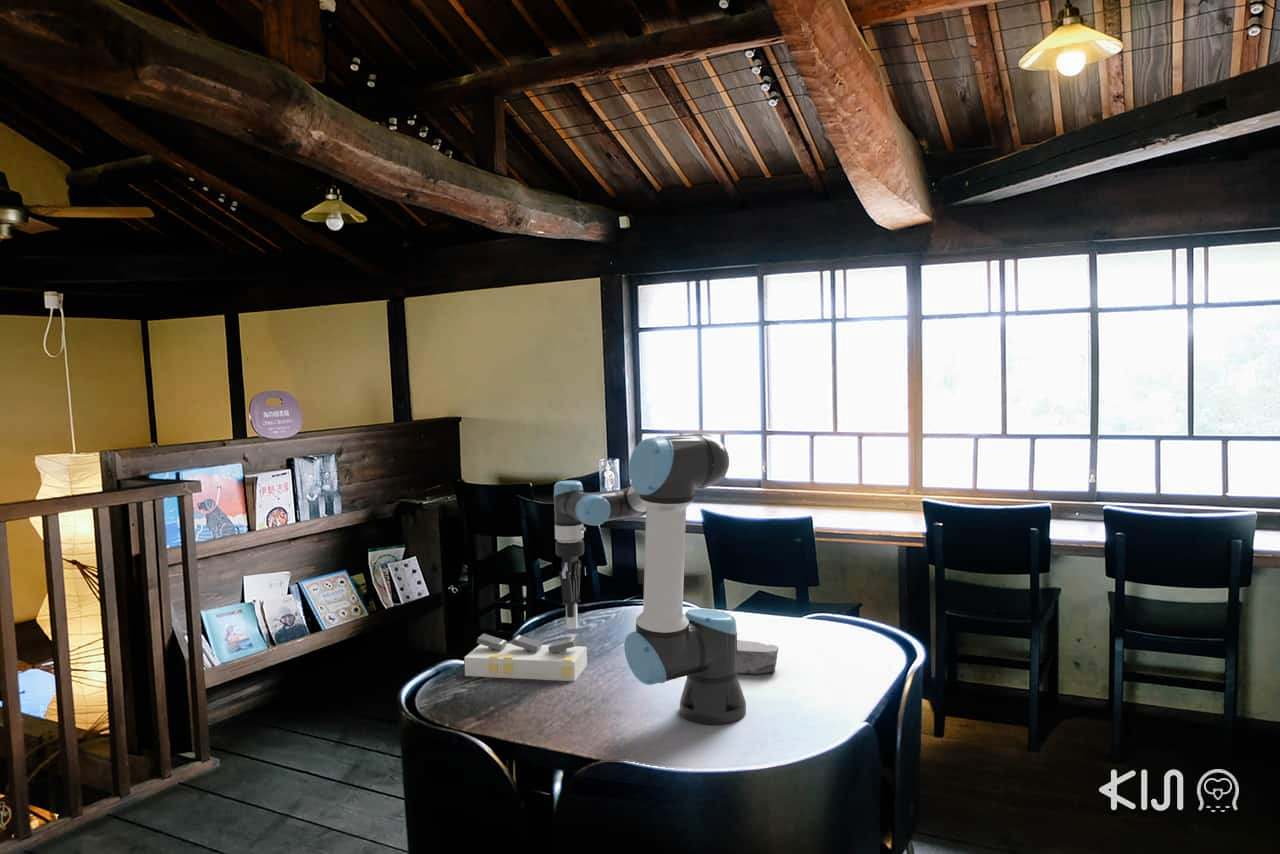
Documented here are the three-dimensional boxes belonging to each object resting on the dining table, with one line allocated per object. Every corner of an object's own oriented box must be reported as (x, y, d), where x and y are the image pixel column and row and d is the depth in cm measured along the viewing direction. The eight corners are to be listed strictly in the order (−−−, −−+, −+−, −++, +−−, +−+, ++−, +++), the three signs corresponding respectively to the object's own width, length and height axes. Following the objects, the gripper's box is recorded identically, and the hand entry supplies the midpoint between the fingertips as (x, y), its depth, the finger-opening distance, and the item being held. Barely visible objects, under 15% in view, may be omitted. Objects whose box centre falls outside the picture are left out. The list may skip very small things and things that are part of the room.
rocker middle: (536, 652, 215) (537, 646, 215) (512, 644, 216) (513, 638, 216) (541, 647, 219) (542, 641, 219) (517, 639, 220) (518, 634, 220)
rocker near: (573, 646, 213) (572, 641, 213) (549, 652, 214) (547, 647, 214) (578, 641, 217) (576, 636, 217) (554, 647, 218) (552, 642, 218)
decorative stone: (720, 665, 217) (723, 677, 207) (719, 639, 217) (723, 650, 207) (775, 664, 217) (781, 677, 207) (774, 639, 217) (781, 650, 207)
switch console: (574, 681, 208) (573, 658, 207) (464, 676, 214) (463, 653, 213) (587, 664, 220) (586, 643, 219) (482, 660, 226) (482, 638, 225)
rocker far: (500, 650, 217) (502, 645, 217) (476, 643, 218) (477, 637, 218) (506, 645, 221) (507, 640, 221) (482, 638, 222) (483, 632, 222)
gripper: (576, 545, 206) (579, 636, 208) (589, 535, 219) (592, 620, 220) (548, 544, 207) (551, 635, 209) (563, 534, 220) (565, 619, 222)
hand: (572, 627), depth 215 cm, fingers closed
